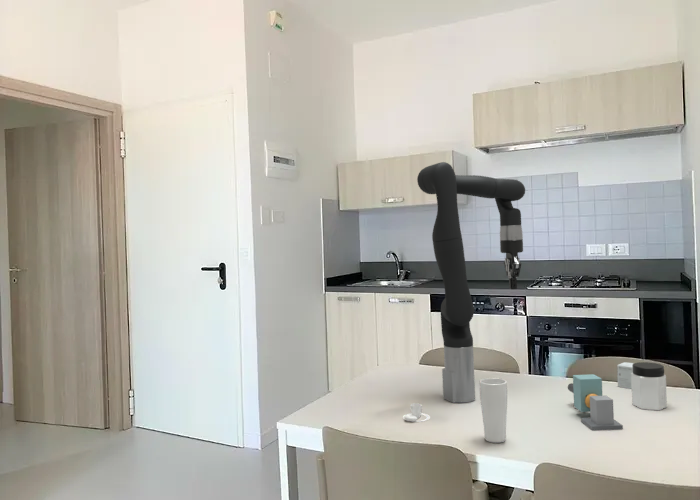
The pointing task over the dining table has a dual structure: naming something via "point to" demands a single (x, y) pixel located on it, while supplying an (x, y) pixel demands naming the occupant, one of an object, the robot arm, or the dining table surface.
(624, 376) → the skincare box
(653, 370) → the jar
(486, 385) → the drinking glass
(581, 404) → the teal block with hole
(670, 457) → the dining table surface
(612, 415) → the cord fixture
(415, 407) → the teacup and saucer
